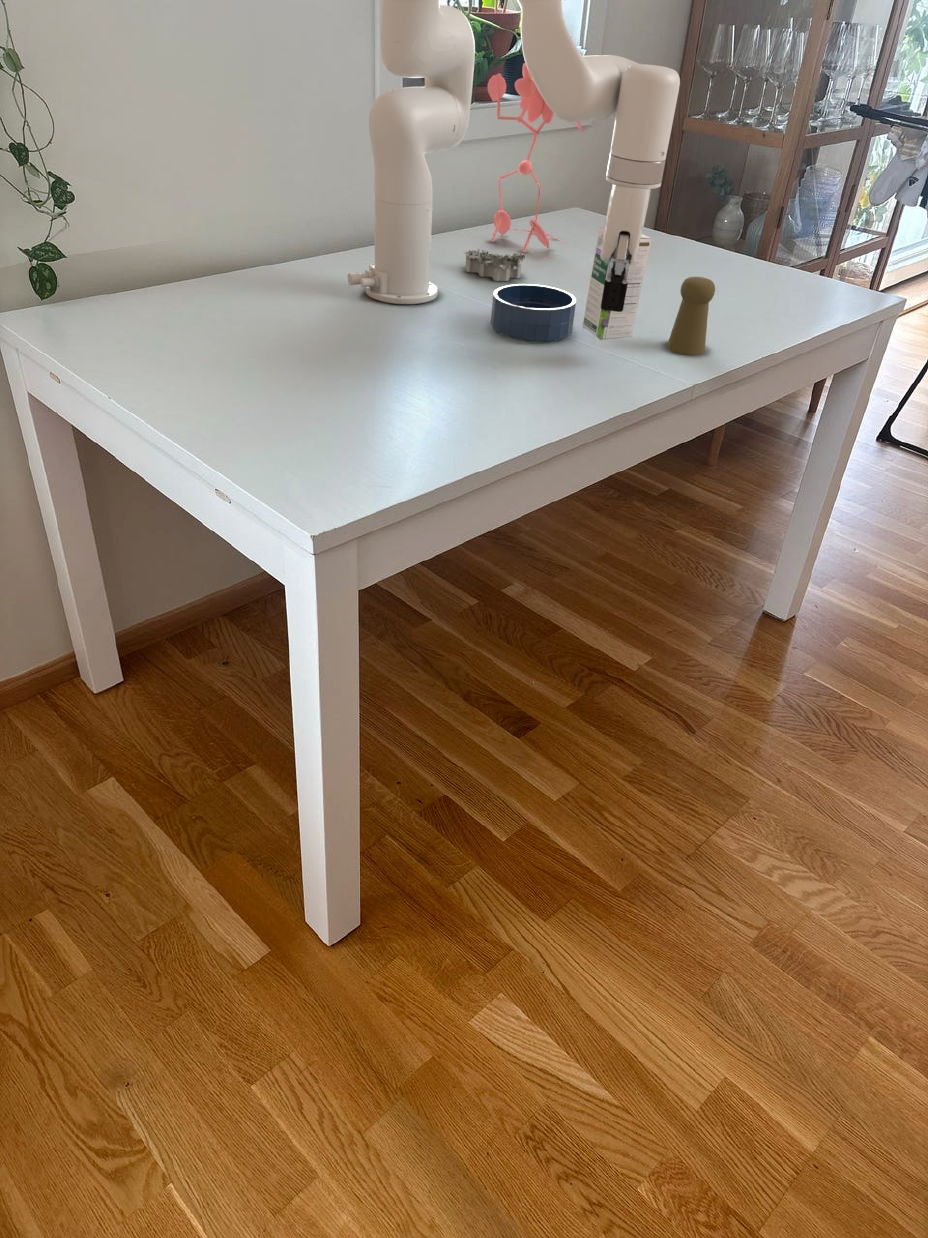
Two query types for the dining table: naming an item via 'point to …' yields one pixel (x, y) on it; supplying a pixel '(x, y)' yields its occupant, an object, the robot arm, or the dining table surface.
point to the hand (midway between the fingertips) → (612, 300)
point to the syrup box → (622, 323)
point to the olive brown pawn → (692, 317)
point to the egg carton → (494, 264)
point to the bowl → (533, 312)
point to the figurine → (535, 108)
